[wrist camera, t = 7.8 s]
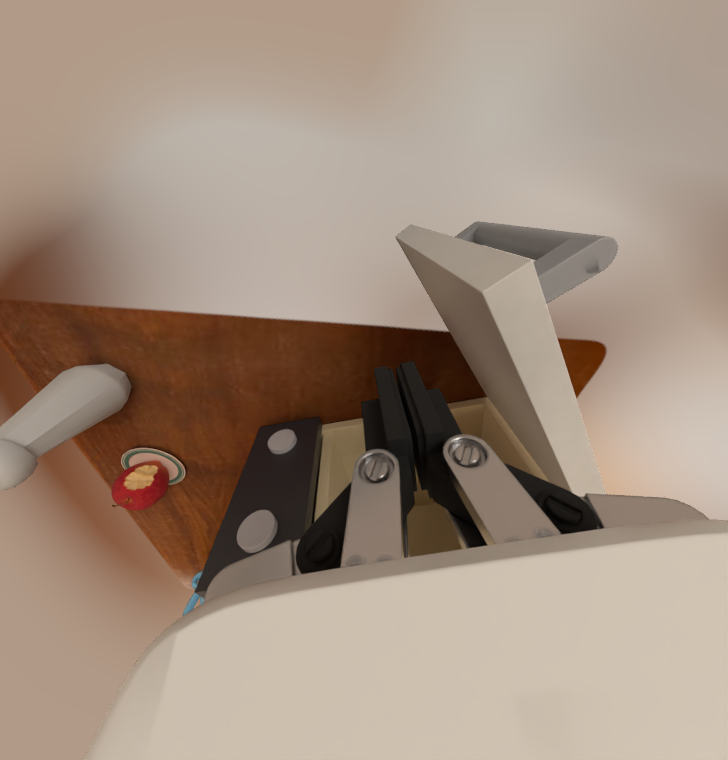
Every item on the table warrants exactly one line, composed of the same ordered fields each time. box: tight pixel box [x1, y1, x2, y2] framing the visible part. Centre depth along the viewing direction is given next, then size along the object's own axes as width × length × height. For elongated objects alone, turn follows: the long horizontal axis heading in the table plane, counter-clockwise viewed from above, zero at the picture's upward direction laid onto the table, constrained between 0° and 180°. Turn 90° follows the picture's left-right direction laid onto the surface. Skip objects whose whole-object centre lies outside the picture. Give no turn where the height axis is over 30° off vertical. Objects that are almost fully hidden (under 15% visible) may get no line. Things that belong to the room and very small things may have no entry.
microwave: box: [195, 397, 549, 598], centre depth 32 cm, size 24×30×18 cm
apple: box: [112, 448, 185, 510], centre depth 35 cm, size 8×8×6 cm
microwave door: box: [396, 222, 618, 497], centre depth 20 cm, size 6×22×18 cm, turn 36°
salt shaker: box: [0, 364, 132, 491], centre depth 24 cm, size 6×6×13 cm
